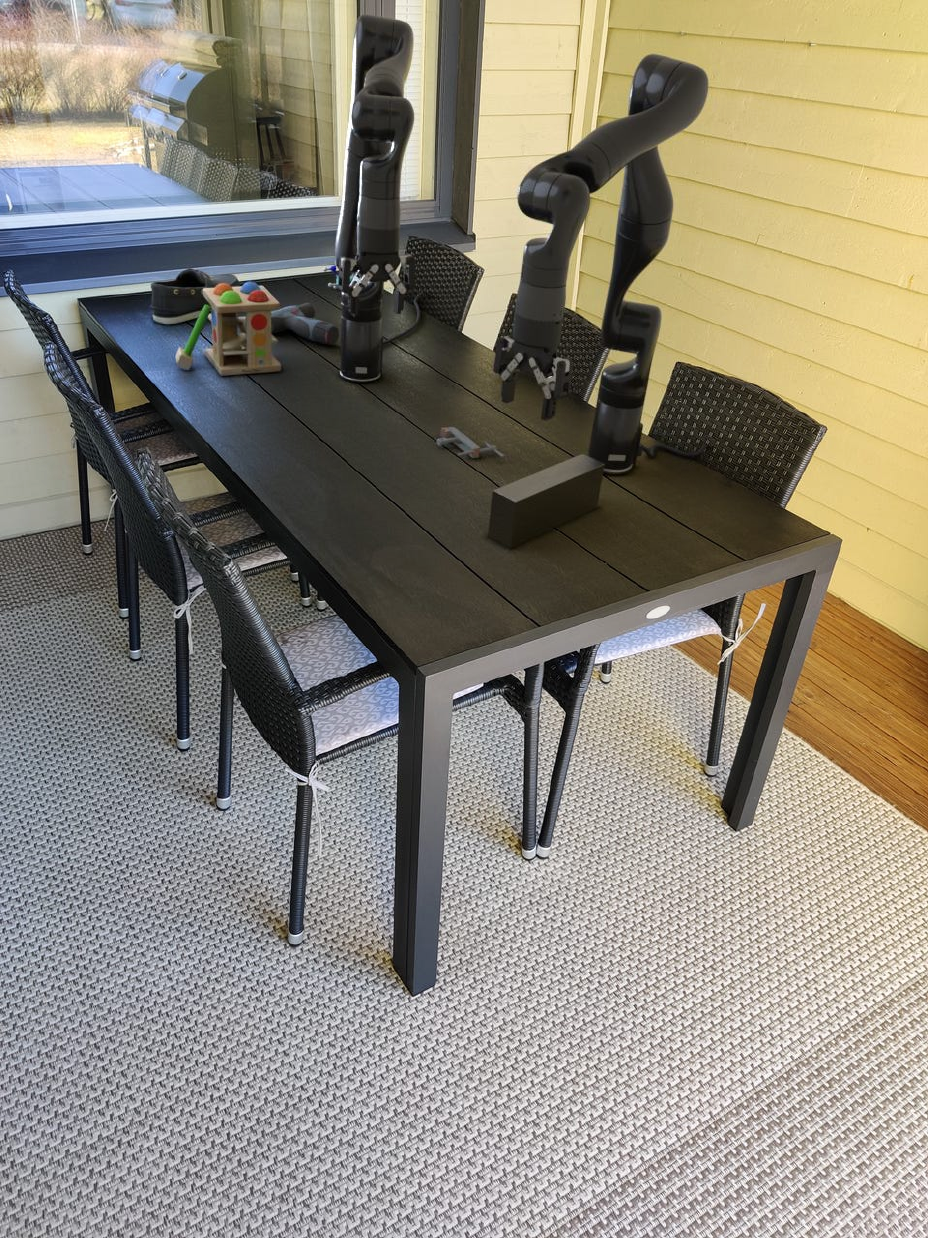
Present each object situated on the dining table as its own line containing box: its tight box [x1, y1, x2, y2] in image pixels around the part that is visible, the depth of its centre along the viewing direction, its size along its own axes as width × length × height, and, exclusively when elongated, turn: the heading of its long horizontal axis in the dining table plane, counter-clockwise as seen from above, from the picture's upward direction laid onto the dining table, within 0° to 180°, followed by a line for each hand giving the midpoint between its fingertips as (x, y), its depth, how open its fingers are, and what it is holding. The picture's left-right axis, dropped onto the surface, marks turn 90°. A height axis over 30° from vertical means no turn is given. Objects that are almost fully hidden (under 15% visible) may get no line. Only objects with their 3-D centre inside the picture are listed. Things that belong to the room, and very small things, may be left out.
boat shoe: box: [150, 268, 242, 325], centre depth 260 cm, size 13×33×10 cm, turn 147°
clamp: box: [436, 426, 507, 460], centre depth 201 cm, size 15×2×10 cm
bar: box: [487, 453, 605, 550], centre depth 177 cm, size 25×5×9 cm, turn 136°
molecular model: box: [322, 260, 356, 290], centre depth 284 cm, size 12×10×10 cm
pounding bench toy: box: [174, 281, 282, 377], centre depth 225 cm, size 23×14×18 cm, turn 116°
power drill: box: [271, 302, 340, 346], centre depth 252 cm, size 5×19×20 cm
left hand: (376, 314), depth 182 cm, fingers open, 8 cm apart
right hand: (527, 410), depth 160 cm, fingers open, 8 cm apart
